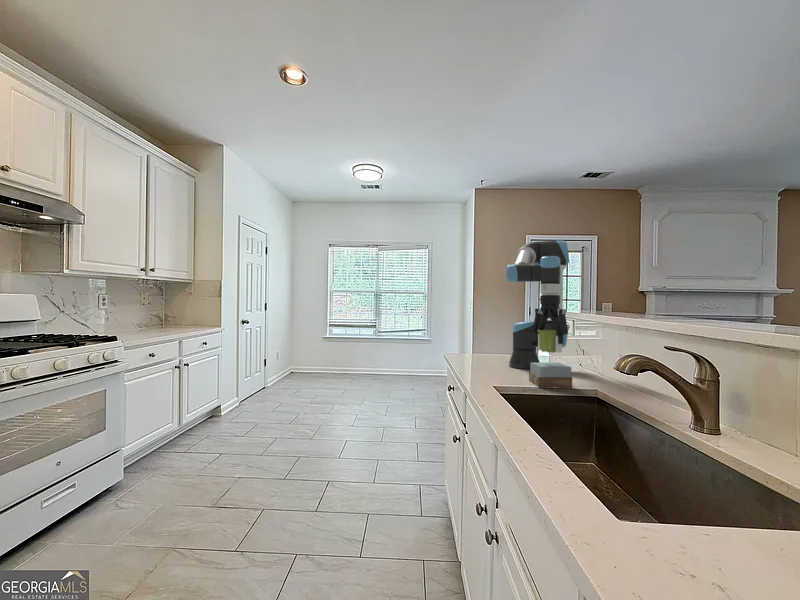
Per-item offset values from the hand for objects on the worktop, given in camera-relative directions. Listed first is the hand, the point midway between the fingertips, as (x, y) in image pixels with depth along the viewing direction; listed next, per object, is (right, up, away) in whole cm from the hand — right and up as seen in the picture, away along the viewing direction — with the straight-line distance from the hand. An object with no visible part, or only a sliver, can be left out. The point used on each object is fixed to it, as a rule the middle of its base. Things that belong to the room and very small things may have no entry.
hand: (549, 350), depth 167 cm
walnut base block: (0, -14, 0) cm, 14 cm away
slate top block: (0, -10, 0) cm, 10 cm away
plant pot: (0, -1, 0) cm, 1 cm away
